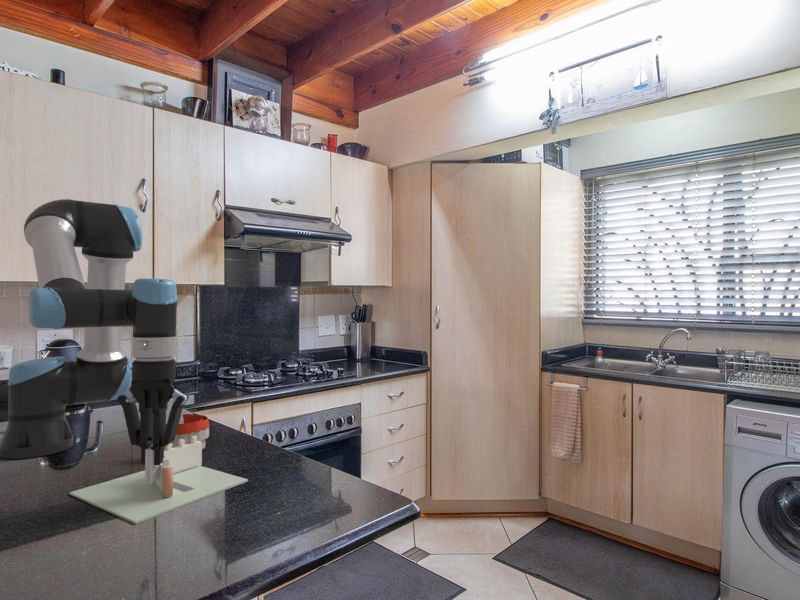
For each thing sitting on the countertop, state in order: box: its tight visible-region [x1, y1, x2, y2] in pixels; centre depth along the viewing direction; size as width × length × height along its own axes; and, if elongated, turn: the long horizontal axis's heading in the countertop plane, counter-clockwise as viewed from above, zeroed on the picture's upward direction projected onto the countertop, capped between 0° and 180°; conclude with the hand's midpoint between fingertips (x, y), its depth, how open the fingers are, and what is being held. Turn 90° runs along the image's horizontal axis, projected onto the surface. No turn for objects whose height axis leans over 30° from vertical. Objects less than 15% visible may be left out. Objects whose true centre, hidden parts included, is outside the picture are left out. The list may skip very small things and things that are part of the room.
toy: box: [164, 413, 211, 451], centre depth 119 cm, size 12×10×8 cm
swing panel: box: [155, 454, 173, 497], centre depth 93 cm, size 11×2×6 cm, turn 37°
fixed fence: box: [152, 436, 203, 474], centre depth 103 cm, size 2×12×8 cm, turn 147°
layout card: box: [69, 465, 249, 525], centre depth 95 cm, size 24×23×1 cm
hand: (152, 481), depth 91 cm, fingers closed
